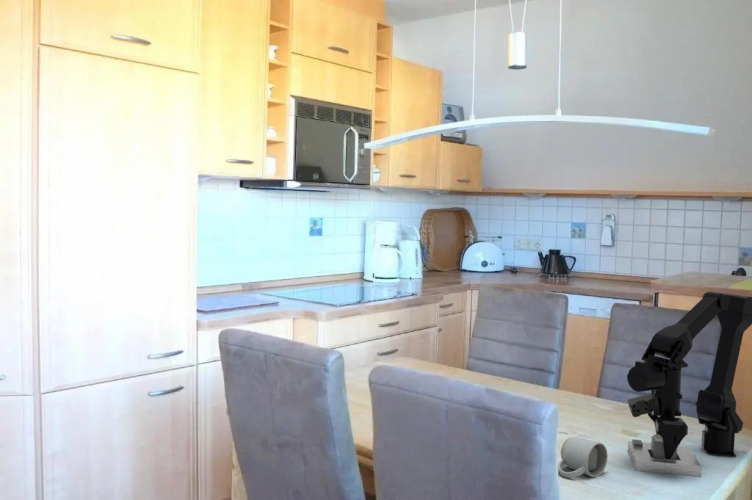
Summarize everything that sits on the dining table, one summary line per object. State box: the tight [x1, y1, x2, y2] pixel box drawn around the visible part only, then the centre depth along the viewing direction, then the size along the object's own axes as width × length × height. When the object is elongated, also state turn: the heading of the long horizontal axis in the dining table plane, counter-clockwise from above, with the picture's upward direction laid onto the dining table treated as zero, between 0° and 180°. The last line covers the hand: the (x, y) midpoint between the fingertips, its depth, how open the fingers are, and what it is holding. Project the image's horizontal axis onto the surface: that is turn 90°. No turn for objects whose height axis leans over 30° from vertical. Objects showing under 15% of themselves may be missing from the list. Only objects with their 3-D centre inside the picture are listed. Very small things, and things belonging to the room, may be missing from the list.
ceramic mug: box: [557, 436, 608, 479], centre depth 159 cm, size 11×8×8 cm
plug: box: [650, 433, 677, 460], centre depth 165 cm, size 5×4×7 cm
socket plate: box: [627, 439, 702, 478], centre depth 166 cm, size 14×13×3 cm
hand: (664, 452), depth 165 cm, fingers open, 9 cm apart
